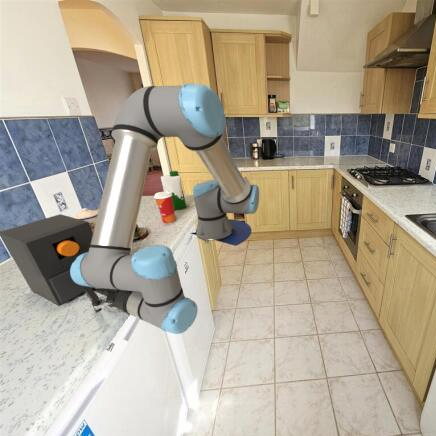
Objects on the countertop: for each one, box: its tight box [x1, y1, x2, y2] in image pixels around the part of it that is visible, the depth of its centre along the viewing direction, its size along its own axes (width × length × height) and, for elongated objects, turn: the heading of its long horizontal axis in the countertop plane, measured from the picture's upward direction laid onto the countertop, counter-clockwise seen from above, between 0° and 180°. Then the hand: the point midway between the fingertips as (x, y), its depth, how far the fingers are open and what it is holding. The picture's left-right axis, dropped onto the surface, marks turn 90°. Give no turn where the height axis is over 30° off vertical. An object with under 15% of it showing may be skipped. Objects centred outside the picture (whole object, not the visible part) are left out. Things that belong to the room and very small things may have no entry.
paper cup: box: [153, 191, 176, 224], centre depth 116 cm, size 8×8×14 cm
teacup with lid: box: [72, 207, 99, 232], centre depth 106 cm, size 12×9×12 cm
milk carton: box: [160, 170, 187, 212], centre depth 131 cm, size 9×9×20 cm
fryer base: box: [16, 264, 86, 307], centre depth 73 cm, size 16×14×10 cm
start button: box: [56, 240, 79, 256], centre depth 66 cm, size 2×4×4 cm, turn 155°
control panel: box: [0, 213, 93, 277], centre depth 69 cm, size 15×14×10 cm
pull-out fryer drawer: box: [49, 268, 85, 304], centre depth 72 cm, size 16×12×8 cm
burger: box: [133, 223, 149, 240], centre depth 102 cm, size 12×12×8 cm
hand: (84, 276), depth 68 cm, fingers closed
